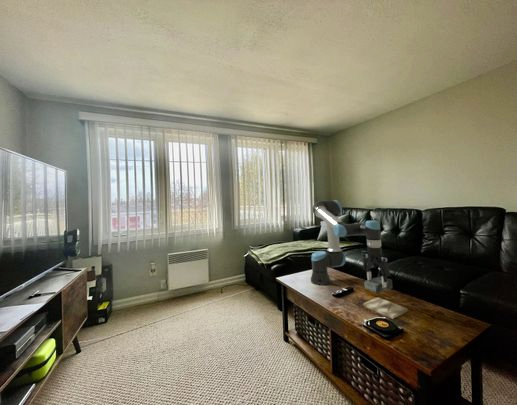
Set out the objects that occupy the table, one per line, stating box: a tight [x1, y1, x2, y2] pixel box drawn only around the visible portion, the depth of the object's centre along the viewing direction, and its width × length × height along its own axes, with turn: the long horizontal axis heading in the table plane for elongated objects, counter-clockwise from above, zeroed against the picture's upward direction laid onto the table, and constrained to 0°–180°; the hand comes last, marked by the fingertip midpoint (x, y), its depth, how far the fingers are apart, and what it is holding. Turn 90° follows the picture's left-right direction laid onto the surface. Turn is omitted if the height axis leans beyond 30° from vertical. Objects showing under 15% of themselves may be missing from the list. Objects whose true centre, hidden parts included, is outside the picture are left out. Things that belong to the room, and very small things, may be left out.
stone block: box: [363, 276, 394, 295], centre depth 124 cm, size 9×14×5 cm, turn 114°
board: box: [362, 297, 409, 320], centre depth 119 cm, size 17×14×2 cm
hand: (376, 284), depth 123 cm, fingers closed on stone block, 8 cm apart
